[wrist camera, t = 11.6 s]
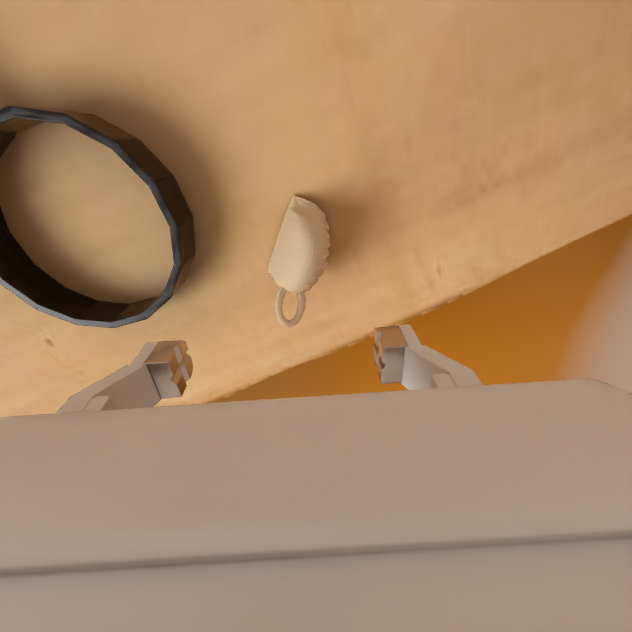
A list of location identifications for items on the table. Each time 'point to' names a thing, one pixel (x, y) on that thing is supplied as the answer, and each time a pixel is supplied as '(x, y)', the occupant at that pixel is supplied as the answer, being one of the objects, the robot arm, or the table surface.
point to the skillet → (52, 298)
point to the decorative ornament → (299, 254)
